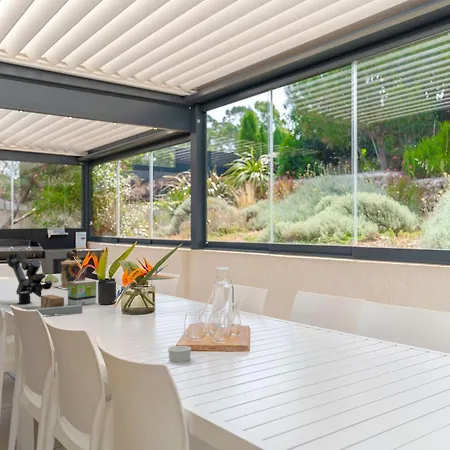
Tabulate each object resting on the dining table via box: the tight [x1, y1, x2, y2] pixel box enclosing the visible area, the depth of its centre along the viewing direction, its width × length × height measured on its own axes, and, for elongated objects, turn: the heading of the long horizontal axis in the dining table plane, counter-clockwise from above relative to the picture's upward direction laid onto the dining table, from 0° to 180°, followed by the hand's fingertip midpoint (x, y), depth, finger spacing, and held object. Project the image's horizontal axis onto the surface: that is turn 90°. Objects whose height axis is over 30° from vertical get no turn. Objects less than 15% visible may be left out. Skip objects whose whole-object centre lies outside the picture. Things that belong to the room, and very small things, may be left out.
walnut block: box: [40, 294, 65, 308], centre depth 282 cm, size 16×7×9 cm, turn 43°
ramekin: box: [167, 345, 192, 363], centre depth 184 cm, size 9×9×4 cm
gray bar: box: [37, 305, 83, 315], centre depth 274 cm, size 24×4×4 cm, turn 122°
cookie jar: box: [53, 247, 87, 291], centre depth 391 cm, size 25×25×32 cm
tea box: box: [67, 279, 97, 306], centre depth 310 cm, size 15×10×15 cm, turn 143°
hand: (40, 296), depth 294 cm, fingers closed
